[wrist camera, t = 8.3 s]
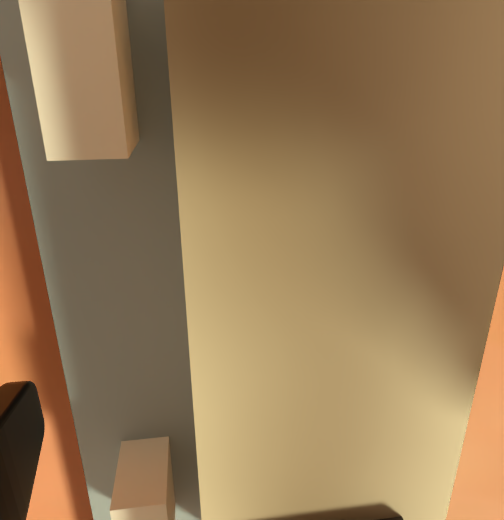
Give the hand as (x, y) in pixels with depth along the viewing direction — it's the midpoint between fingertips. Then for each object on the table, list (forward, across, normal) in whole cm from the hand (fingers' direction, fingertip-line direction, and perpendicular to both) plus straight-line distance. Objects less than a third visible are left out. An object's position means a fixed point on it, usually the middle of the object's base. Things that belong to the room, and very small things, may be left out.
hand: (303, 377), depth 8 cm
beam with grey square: (+3, 0, 0) cm, 3 cm away
